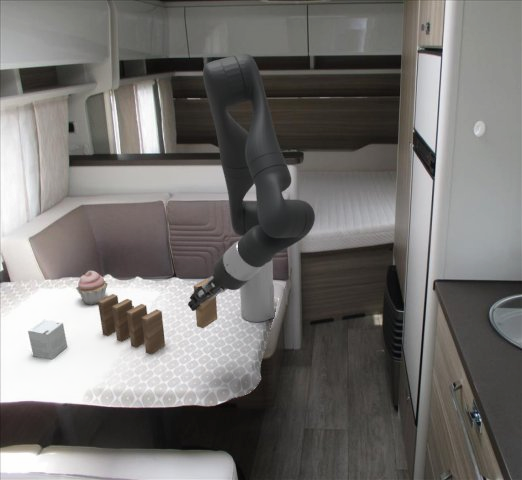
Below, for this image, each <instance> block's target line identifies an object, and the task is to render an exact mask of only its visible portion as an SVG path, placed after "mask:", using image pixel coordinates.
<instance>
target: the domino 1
mask: <svg viewBox="0 0 522 480" xmlns="http://www.w3.org/2000/svg"><path fill="white" fill-rule="evenodd" d="M118 303H119V297H118V295H117V294H114V293H112V294H109V295H108V296H105V298H103V299H101V300H99V301H98V303H97V305H98V311H99V318H100V324H101V330H102V335H103V336H106V337H109V336H110V335H112V334H114V333H116V330H115V323H114V317H113V310H112V306H114V305H116V304H118Z"/></svg>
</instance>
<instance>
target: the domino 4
mask: <svg viewBox="0 0 522 480" xmlns="http://www.w3.org/2000/svg"><path fill="white" fill-rule="evenodd" d="M142 325H143V333H144V341H145V343H144V348H145V353H146V354H148V355H150V356H152V355H153V354H155V353H156V352H158V351H159V350H160V349H163V348H164V347H165V346H166V342H165V341H166V340H165V331H164V322H163V312H162V310H159V309H154V310H153V311H151V312H149V313H147V315H145V316H144V317H142Z"/></svg>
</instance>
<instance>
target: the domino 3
mask: <svg viewBox="0 0 522 480" xmlns="http://www.w3.org/2000/svg"><path fill="white" fill-rule="evenodd" d="M147 314H148V309H147V305H146V304H143V303H140V304H139V305H137V306H134V308H133V309H131V310H129V311H127V319H128V327H129V334H130V337H129V340H130V347H131V348H135V349H137V348H139V347H141V346H143V345H145V341H144V333H143V325H142V317H144V316H145V315H147Z"/></svg>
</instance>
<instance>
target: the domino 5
mask: <svg viewBox="0 0 522 480" xmlns="http://www.w3.org/2000/svg"><path fill="white" fill-rule="evenodd" d="M209 278H210V277H207V278H205V279H203V280H201V281H200V282H197V283H196V284H194V285H193V293H194V292H195V290H196V289H197V288H198V287H199V286H202V285H203V284H205V283H206V282H207V281H208V279H209ZM206 287H207V286H206ZM209 293H210V291H209ZM210 294H211V295H213V294H212V293H210ZM217 309H218V305H217V296H215V297H214V298H212V299H211V300H206V301H205V302H204V304H201V305H200V306H199V307H198V308H197V309H196V310H195V317H196V319H195V320H196V327H198V328H200V329H205V328H206V327H208V326H209V325H211V324H212V323H214V322H215V321H216V320H218V310H217Z"/></svg>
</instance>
